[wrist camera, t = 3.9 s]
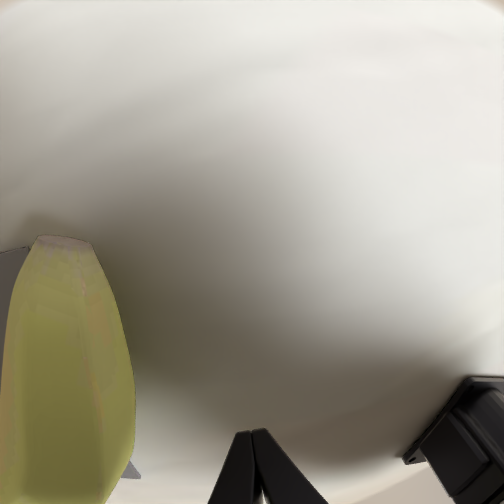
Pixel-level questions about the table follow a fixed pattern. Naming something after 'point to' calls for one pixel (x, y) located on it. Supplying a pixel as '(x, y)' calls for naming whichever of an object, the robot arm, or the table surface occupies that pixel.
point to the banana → (64, 381)
